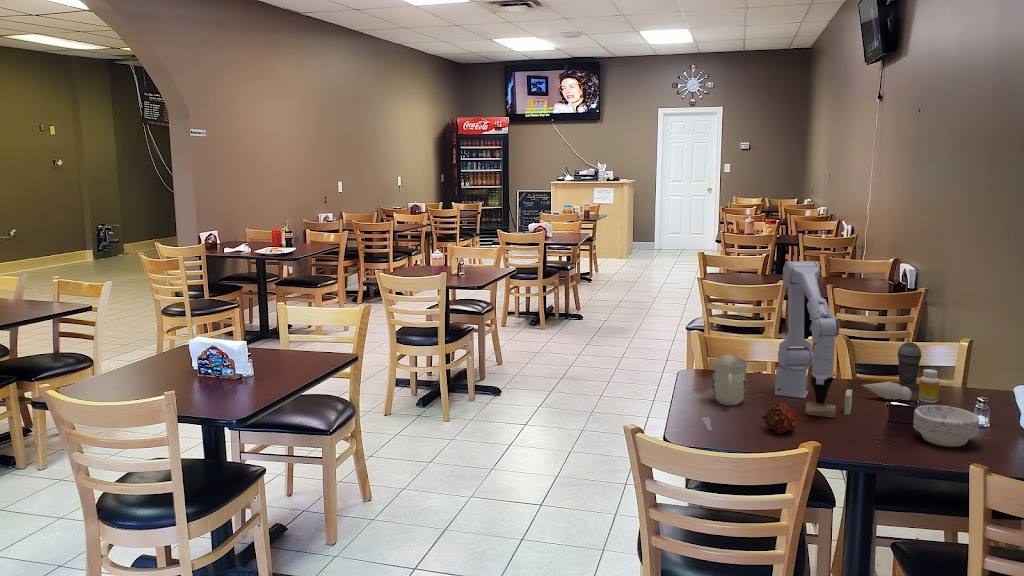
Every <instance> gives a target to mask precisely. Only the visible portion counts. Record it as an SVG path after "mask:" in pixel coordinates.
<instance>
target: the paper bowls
mask: <svg viewBox="0 0 1024 576" xmlns="http://www.w3.org/2000/svg"><path fill="white" fill-rule="evenodd" d="M913 412H914V413H913V424H912V426H913V428H914V430H915V431H916V432H919V433H920V435H921V437H922V438H923V439H924V440H925V441H926V442H928V443H930V444H933V445H936V446H939V447H940V446H941V447H947V448H949V447H950V448H958V447H962V446H965V445H966V444H967V443H968V442H969V440H973V439H976V438H977V437H978V436H979V427H980V426H979V425H980V423H979V422H980V418H979V416H978V415H977V414H976V413H974V412H971V411H969V410H966V409H963V408H959V407H954V406H949V405H940V404H935V405H934V404H926V405H921V406H918V407H916V408H915V409H914V411H913Z"/></svg>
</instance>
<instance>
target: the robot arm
mask: <svg viewBox="0 0 1024 576" xmlns="http://www.w3.org/2000/svg"><path fill="white" fill-rule="evenodd" d="M820 274H821V266H820V264H819V263H818V261H817V260H813V261H812V260H811V261H809V260H808V261H807V260H805V261H804V260H803V261H798V260H797V261H794V260H793V261H789V260H787V261H785V263H784V265H783V269H782V283H783V286H785V287H786V288H787V295H788V296H787V298H788V299H787V300H788V301H787V302H788V303H787V305H788V306H787V307H788V308H787V309H788V310H787V316H788V317H787V320H788V323H787V329H788V330H787V331H788V333H787V337H786V338H785V339H784V340H782V341H781V342H780V343H779V345H778V346H779V347H778V353H777V359H778V363H779V365H780V366H779V365H778V366H776V371H775V379H774V380H775V382H774V383H775V384H774V395H775V396H781V397H782V396H783V397H790V398H791V397H792V398H800V399H806V398H807V396H808V393H809V391H808V390H807V370H809V369H810V367H811V366H812V368H811V369H812V370H811V375H812V378H811V379H810V384H811V385H812V387H813V390H814V396H815V403H816V402H817V403H818V404H824V403H825V400H827V397H828V392H829V389H830V387H831V386H832V383H833V380H834V377H837V376H838V373H837V372H834V364H835V363H834V359H835V346H836V343H835V341H836V337H838V336H839V333H840V322H839V319H838V318H837V317H836V316H835V315H834V314H832V312H831V311H830V306H829V304H828V302H827V299H826V298H824V297H822V295H821V291H820V288H819V282H818V281H819V277H820ZM805 296H806V297H807V300H808V302H807V303H806V307H807V310H808V314H809V317H810V319H811V324H810V329H811V337H812V338H811V341H812V342H813V344H812V343H810V341H808V340H807V339H806V338H805Z"/></svg>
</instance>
